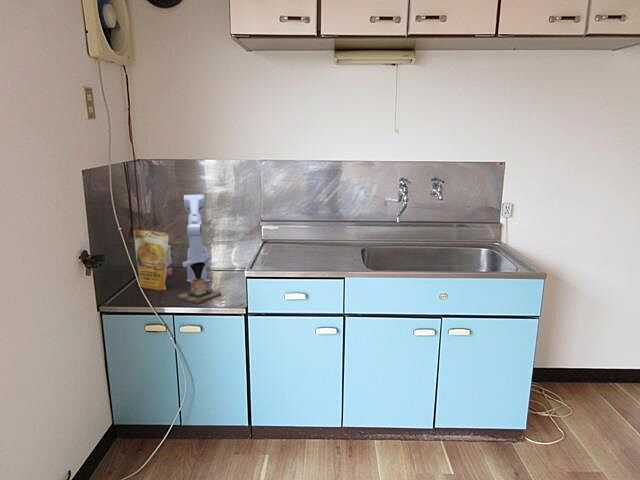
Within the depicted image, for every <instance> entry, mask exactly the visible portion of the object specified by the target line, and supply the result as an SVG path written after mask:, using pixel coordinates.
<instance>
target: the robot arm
mask: <svg viewBox="0 0 640 480" xmlns="http://www.w3.org/2000/svg"><path fill="white" fill-rule="evenodd" d="M183 207H184V210H185V212H187V213H189V214H188V217H187V218H188V219H187V220H188V224H187V227H186V228H187V229H186V230H187V237H188V242H189V247H188V249H187V260H185V261H183V262H182V267H183V268H186V273H187V279H186V282H189V283H191V280H192V279H200V278H202V279H205V283H207V282H210V281H211V279H210V278H209V279H208V277H207V264H208V263H209V261H211V260H212V256H211V255H209V254H208V248H207V247H206V246H205V245H204V244H203V237H204V236H203V235H204V229H203V222H202V216H201V213H202V212H204V211H205V208H206V202H205V194H203V193H201V194H199V193H198V194H184V195H183Z"/></svg>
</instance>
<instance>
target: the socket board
mask: <svg viewBox="0 0 640 480" xmlns="http://www.w3.org/2000/svg"><path fill="white" fill-rule="evenodd" d="M221 296H222V292H219V291H215V290H212V289H210V288H206V293H204V294H201V295H195V294H192V290H188V291H185V292H182V293H180V294H177V295H176V297H177V299H180V300H183V301H185V302H188V303H191V304H195V305H200V304H203V303H205V302H208V301H210V300H213V299H215V298H218V297H221Z"/></svg>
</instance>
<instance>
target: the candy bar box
mask: <svg viewBox="0 0 640 480" xmlns="http://www.w3.org/2000/svg"><path fill="white" fill-rule="evenodd" d="M171 247H172V246H171V245H168V257H167V268H166V279H168V278H171V277H174V269H173V268H174V267H173V260H172V248H171Z"/></svg>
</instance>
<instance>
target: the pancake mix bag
mask: <svg viewBox="0 0 640 480" xmlns="http://www.w3.org/2000/svg"><path fill="white" fill-rule="evenodd" d="M132 233H133V240H134V249H135V259H136V263H137V264H136V265H137V272H138V284H139V283H140V285H141V287H142V289H147V290H154V291H167V286H166V279H167V278H166V268H167V257H168V245H169V243H170V234H168V233H167V232H166V231H154V230H147V229H145V230H144V229H134V230H132ZM169 246H170V245H169ZM141 287H140V288H141Z"/></svg>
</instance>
